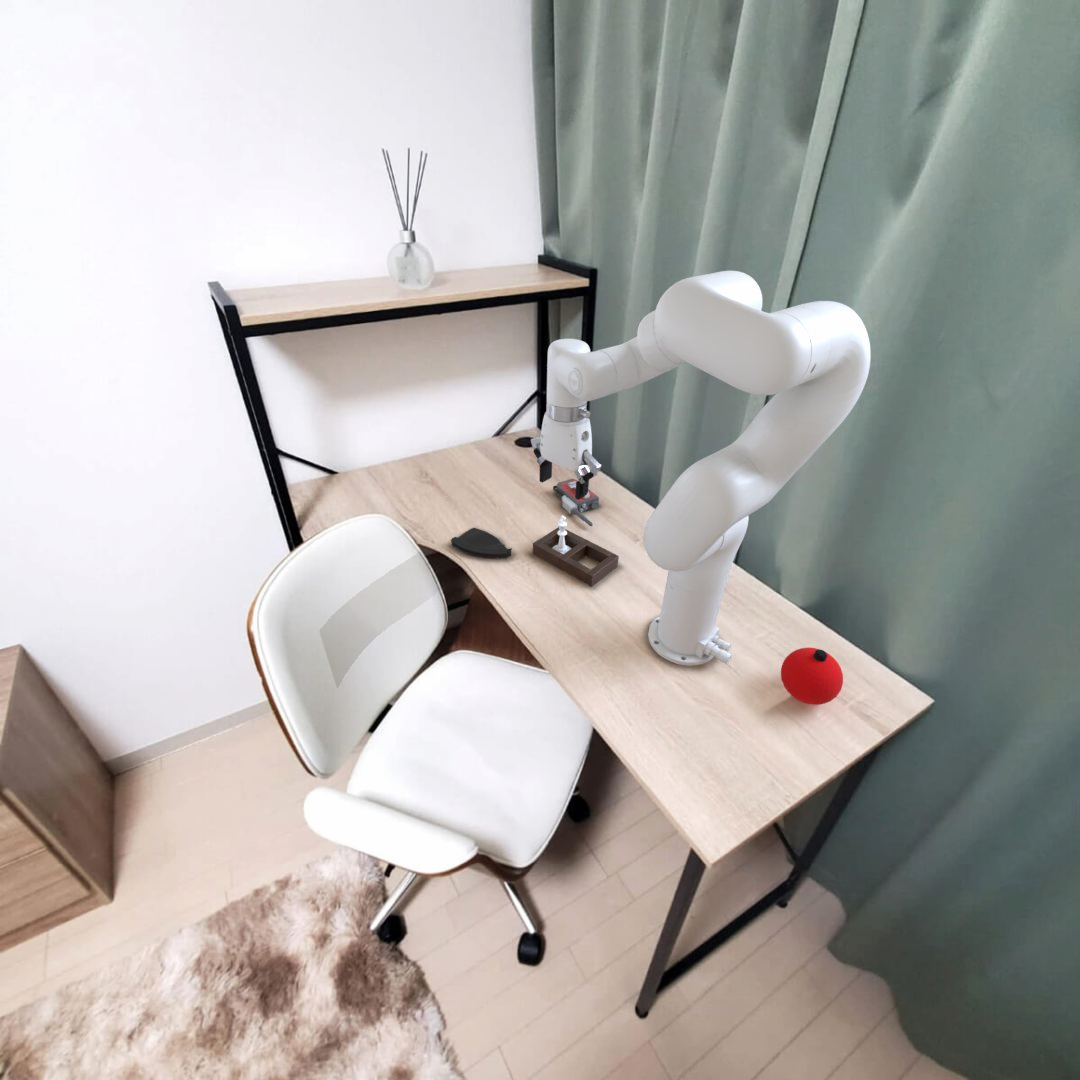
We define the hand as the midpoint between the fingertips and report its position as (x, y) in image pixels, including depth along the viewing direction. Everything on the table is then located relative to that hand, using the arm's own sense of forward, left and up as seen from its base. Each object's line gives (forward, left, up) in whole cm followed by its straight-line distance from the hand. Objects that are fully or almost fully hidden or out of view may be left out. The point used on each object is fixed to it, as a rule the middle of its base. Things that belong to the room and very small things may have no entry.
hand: (563, 488), depth 109 cm
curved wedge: (+15, +11, -17) cm, 25 cm away
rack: (-4, 0, -17) cm, 17 cm away
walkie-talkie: (+9, -18, -17) cm, 27 cm away
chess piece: (0, 0, -17) cm, 17 cm away
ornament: (-55, +2, -17) cm, 57 cm away
